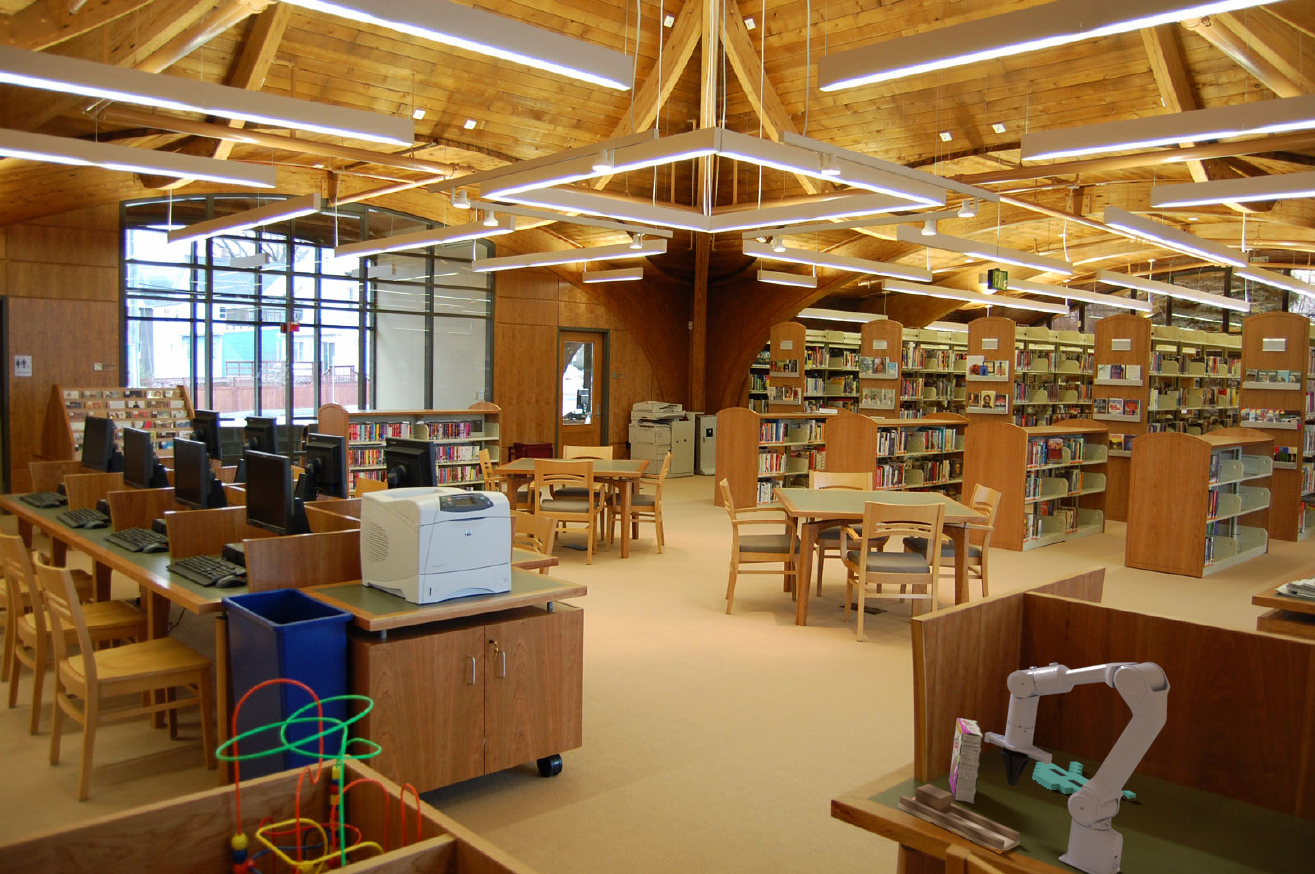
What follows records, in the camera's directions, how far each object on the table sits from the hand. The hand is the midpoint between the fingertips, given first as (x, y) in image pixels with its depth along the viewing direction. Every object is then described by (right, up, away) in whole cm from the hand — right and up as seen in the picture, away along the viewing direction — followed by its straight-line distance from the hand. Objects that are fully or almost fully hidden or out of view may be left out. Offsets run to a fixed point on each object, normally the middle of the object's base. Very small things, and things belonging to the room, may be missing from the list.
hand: (1012, 784), depth 203 cm
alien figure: (+27, -13, +31) cm, 43 cm away
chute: (-13, -8, -3) cm, 16 cm away
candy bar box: (-6, -8, +16) cm, 19 cm away
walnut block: (-17, -6, +2) cm, 18 cm away
